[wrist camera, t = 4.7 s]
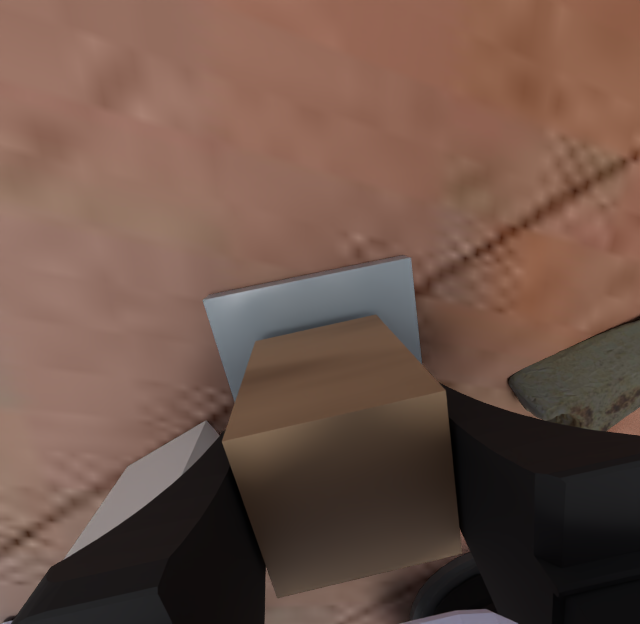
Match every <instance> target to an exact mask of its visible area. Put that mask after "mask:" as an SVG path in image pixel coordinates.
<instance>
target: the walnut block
mask: <svg viewBox="0 0 640 624" xmlns="http://www.w3.org/2000/svg"><path fill="white" fill-rule="evenodd" d="M222 444H223V446H224V449H225V452H226V455H227V458H228V460H229V463H230V466H231V469H232V472H233V475H234V477H235V480H236V483H237V486H238V489H239V491H240V494H241V497H242V500H243V503H244V506H245V508H246V511H247V514H248V517H249V520H250V522H251V525H252V528H253V531H254V534H255V536H256V539H257V542H258V545H259V548H260V551H261V553H262V556H263V559H264V562H265V565H266V567H267V570H268V573H269V576H270V579H271V582H272V584H273V587H274V590H275V593H276V596H277V598H280V597H285V596H289V595H293V594H297V593H301V592H305V591H310V590H314V589H318V588H322V587H326V586H330V585H335V584H339V583H343V582H347V581H351V580H355V579H360V578H364V577H368V576H372V575H376V574H380V573H385V572H389V571H393V570H397V569H401V568H405V567H410V566H414V565H418V564H422V563H426V562H430V561H435V560H439V559H443V558H447V557H451V556H455V555H460V554H462V548H461V538H460V528H459V518H458V508H457V498H456V488H455V478H454V468H453V458H452V448H451V438H450V428H449V418H448V408H447V398H446V390H445V389H444V388H443V387H442V386H441V385H440V384H439V383H438V381H437V380H436V379H435V378H434V377H433V376H432V375H431V374H430V373H429V372H428V371H427V369H426V368H425V367H424V366H423V365H422V364H421V363H420V362H419V361H418V360H417V359H416V357H415V356H414V355H413V354H412V353H411V352H410V351H409V350H408V349H407V348H406V347H405V345H404V344H403V343H402V342H401V341H400V340H399V339H398V338H397V337H396V336H395V335H394V333H393V332H392V331H391V330H390V329H389V328H388V327H387V326H386V325H385V324H384V323H383V321H382V320H381V319H380V318H379V317H378V316H377V315H371V316H367V317H362V318H358V319H353V320H349V321H344V322H340V323H335V324H331V325H326V326H322V327H317V328H313V329H308V330H304V331H299V332H295V333H290V334H286V335H281V336H277V337H272V338H268V339H263V340H259V341H255V344H254V347H253V350H252V353H251V356H250V359H249V362H248V365H247V368H246V371H245V374H244V377H243V380H242V383H241V386H240V389H239V392H238V395H237V398H236V401H235V404H234V407H233V410H232V413H231V416H230V419H229V422H228V425H227V428H226V431H225V434H224V437H223V440H222Z"/></svg>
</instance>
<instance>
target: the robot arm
mask: <svg viewBox="0 0 640 624" xmlns="http://www.w3.org/2000/svg"><path fill="white" fill-rule="evenodd" d="M438 383H439V382H438ZM439 384H440V385H441V386H442V387H443V388H444V389H445V390H446V398H447V408H448V418H449V428H450V438H451V448H452V458H453V468H454V478H455V488H456V498H457V508H458V518H459V528H460V530H461V532H462V534H463V536H464V538H465V540H466V543H467V545H468V547H469V549H470V551H471V554H472V556H473V558H474V560H475V562H476V565H477V567H478V569H479V571H480V573H481V576H482V578H483V580H484V582H485V585H486V587H487V589H488V592H489V594H490V596H491V598H492V601H493V603H494V605H495V607H496V610H497V612H498V614H499V615H498V614H496V613H494V612H492V611H489V610H487V609H477V610H456V611H451V612H447V613H443V614H438V615H434V616H430V617H425V618H421V619H417V620H412V621H408V622H404V623H399V624H640V436H637V435H629V434H622V433H614V432H606V431H598V430H591V429H585V428H579V427H574V426H568V425H563V424H558V423H553V422H549V421H544V420H540V419H536V418H532V417H528V416H524V415H520V414H517V413H514V412H510V411H507V410H504V409H501V408H498V407H495V406H492V405H489V404H486V403H484V402H481V401H478V400H476V399H474V398H471V397H469V396H466V395H464V394H462V393H459V392H457V391H455V390H453V389H451V388H449V387H447V386H445V385H443V384H441V383H439ZM225 431H226V429H225V430H224V431H223V433H222V434H221V435H220V436H219V437H218V438H217V440H216V441H215V442H214V443H213V444H212V445H211V446H210V447H209V448H208V449H207V451H206V452H205V453H204V454H203V455H202V456H201V457H200V458H199V459H198V460H197V461H196V462H195V463H194V464H193V465H192V466H191V467H190V468H189V469H188V470H187V471H186V472H185V473H184V474H183V475H181V476H180V477H179V478H178V479H177V480H176V481H175V482H174V483H173V484H171V485H170V486H169V487H168V488H166V489H165V490H164V491H163V492H161V493H160V494H159V495H158V496H157V497H155V498H154V499H153V500H152V501H150V502H149V503H148V504H147V505H145V506H144V507H143V508H141V509H140V510H139V511H137V512H136V513H135V514H133V515H132V516H130V517H129V518H128V519H126V520H125V521H123V522H122V523H120V524H119V525H118V526H116V527H115V528H113V529H112V530H110V531H109V532H107V533H106V534H104V535H103V536H101V537H100V538H98V539H97V540H95V541H93V542H92V543H90V544H88V545H87V546H85V547H84V548H82V549H80V550H79V551H77V552H75V553H74V554H72V555H71V556H69V557H67V558H66V559H64V560H62V561H61V562H59V563H57V564H56V565H54V566H52V567H51V568H50V569H49V570H48V572H47V573H46V575H45V576H44V578H43V579H42V580H41V582H40V583H39V585H38V586H37V587H36V589H35V590H34V592H33V593H32V594H31V596H30V597H29V599H28V600H27V602H26V603H25V604H24V606H23V607H22V609H21V610H20V611H19V613H18V614H17V616H16V617H15V618H14V620H12V621H8V622H4V623H2V624H264V620H265V574H266V565H265V562H264V559H263V556H262V553H261V551H260V548H259V545H258V542H257V539H256V536H255V534H254V531H253V528H252V525H251V522H250V520H249V517H248V514H247V511H246V508H245V506H244V503H243V500H242V497H241V494H240V491H239V489H238V486H237V483H236V480H235V477H234V475H233V472H232V469H231V466H230V463H229V460H228V458H227V455H226V452H225V449H224V446H223V444H222V440H223V437H224V434H225Z"/></svg>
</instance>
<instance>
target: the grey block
mask: <svg viewBox="0 0 640 624" xmlns="http://www.w3.org/2000/svg"><path fill="white" fill-rule="evenodd" d="M219 436H220V435H219V434H218V433H217V432H216V431H215V430H214V428H213V427H212V426H211V425H210V424H209V423H208V421H207V420H206V421H204V422H202V423H201V424H199V425H197V426H196V427H194V428H192V429H190V430H189V431H187V432H185V433H184V434H182V435H180V436H179V437H177V438H175V439H173V440H172V441H170V442H168V443H167V444H165V445H163V446H162V447H160V448H158V449H156V450H155V451H153V452H151V453H150V454H148V455H146V456H145V457H143V458H141V459H139V460H138V461H136V462H134V463H133V464H131V465H129V466H128V467H127V468H126V470H125V471H124V472H123V474H122V475H121V477H120V478H119V480H118V481H117V483H116V484H115V485H114V487H113V488H112V490H111V491H110V493H109V494H108V496H107V497H106V499H105V500H104V501H103V503H102V504H101V506H100V507H99V509H98V510H97V512H96V513H95V515H94V516H93V517H92V519H91V520H90V522H89V523H88V525H87V526H86V528H85V529H84V531H83V532H82V533H81V535H80V536H79V538H78V539H77V541H76V542H75V544H74V545H73V547H72V548H71V549H70V551H69V552H68V554H67V555H66V557H65V558H64V559H66V558H67V557H69V556H71V555H72V554H74V553H75V552H77V551H79V550H80V549H82V548H84V547H85V546H87V545H88V544H90V543H92V542H93V541H95V540H97V539H98V538H100V537H101V536H103V535H104V534H106V533H107V532H109V531H110V530H112V529H113V528H115V527H116V526H118V525H119V524H120V523H122V522H123V521H125V520H126V519H128V518H129V517H130V516H132V515H133V514H135V513H136V512H137V511H139V510H140V509H141V508H143V507H144V506H145V505H147V504H148V503H149V502H150V501H152V500H153V499H154V498H155V497H157V496H158V495H159V494H160V493H161V492H163V491H164V490H165V489H166V488H168V487H169V486H170V485H171V484H173V483H174V482H175V481H176V480H177V479H178V478H179V477H180V476H181V475H183V474H184V473H185V472H186V471H187V470H188V469H189V468H190V467H191V466H192V465H193V464H194V463H195V462H196V461H197V460H198V459H199V458H200V457H201V456H202V455H203V454H204V453H205V452H206V451H207V449H208V448H209V447H210V446H211V445H212V444H213V443H214V442H215V441H216V440H217V438H218V437H219Z"/></svg>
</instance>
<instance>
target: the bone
mask: <svg viewBox="0 0 640 624" xmlns="http://www.w3.org/2000/svg"><path fill="white" fill-rule="evenodd" d="M508 382H509V385H510V387H511V389H512V390H513V391H514V393H515V394H516V396H517V397H518V399H519V401H520V403H521V404H522V405H523V407H524V408H525V409H526V410H527V411H529V412H531V413H532V414H533V415H534V416H536V417H537V418H540V419H542V420H544V421H549V422H553V423H558V424H563V425H568V426H574V427H579V428H585V429H591V430H598V431H607V430H608V429H610V428H611V427H612V426H614V425H615V424H617V423H618V422H619V421H621V420H622V419H623V418H625V417H626V416H627V415H629V414H630V413H632V412H634V411H635V410H636V409H638V408H639V407H640V320H637V321H635V322H631V323H627V324H624V325H621V326H619V327H616V328H614V329H611V330H609V331H606V332H604V333H602V334H599V335H596V336H593V337H591V338H589V339H587V340H585V341H582V342H580V343H578V344H576V345H574V346H572V347H569V348H567V349H565V350H563V351H561V352H559V353H557V354H555V355H552V356H550V357H548V358H545V359H543V360H541V361H539V362H537V363H535V364H533V365H530V366H528V367H526V368H524V369H522V370H520V371H519V372H517V373H515V374H514V375H513V376H511V377H510V379H509V381H508Z"/></svg>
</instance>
